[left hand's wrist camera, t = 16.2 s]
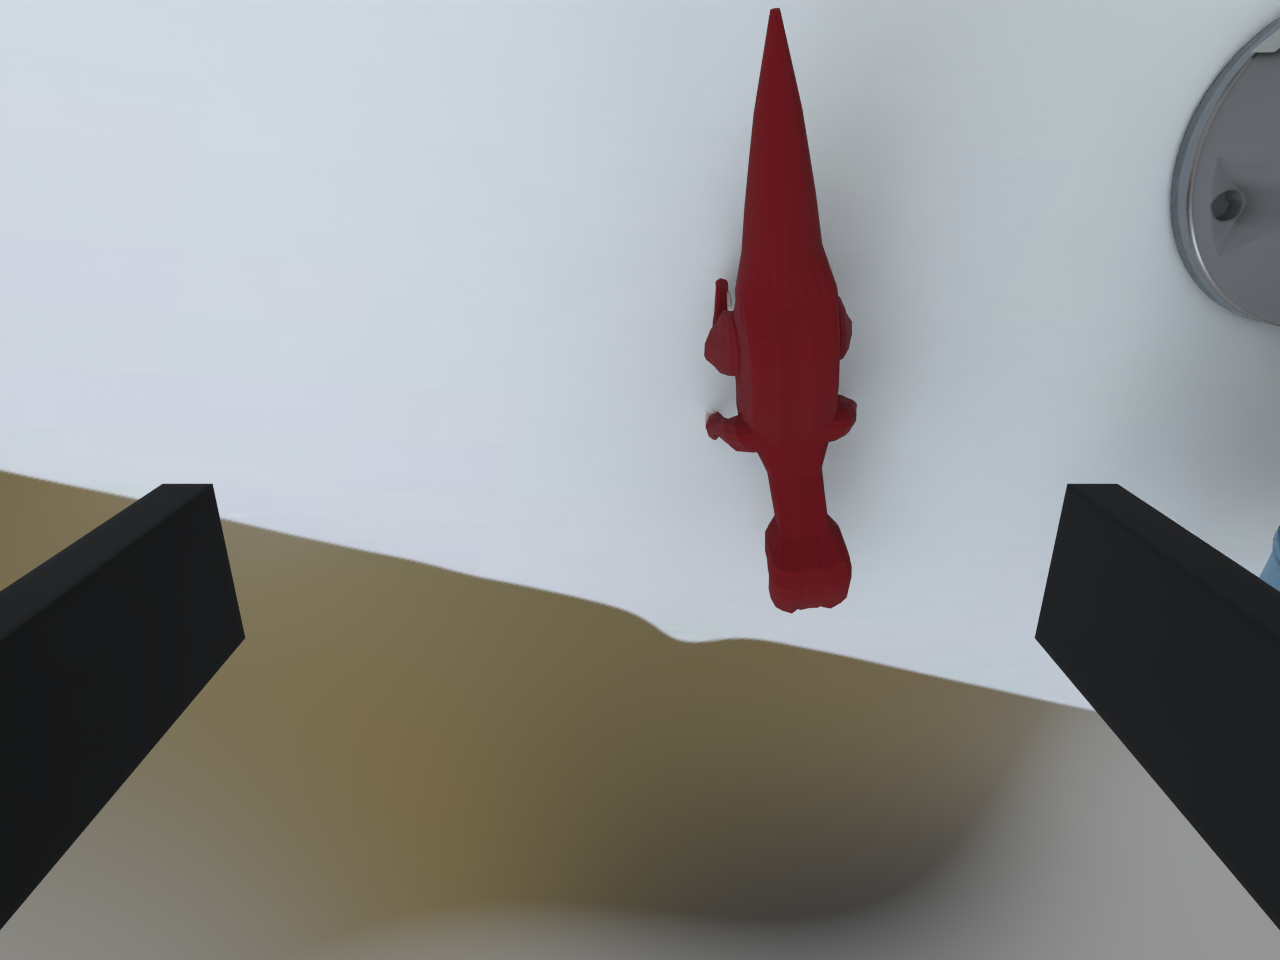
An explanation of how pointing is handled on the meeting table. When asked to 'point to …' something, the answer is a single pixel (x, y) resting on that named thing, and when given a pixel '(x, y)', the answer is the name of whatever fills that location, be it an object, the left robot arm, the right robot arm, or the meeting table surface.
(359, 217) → the meeting table surface
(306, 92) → the meeting table surface
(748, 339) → the toy
